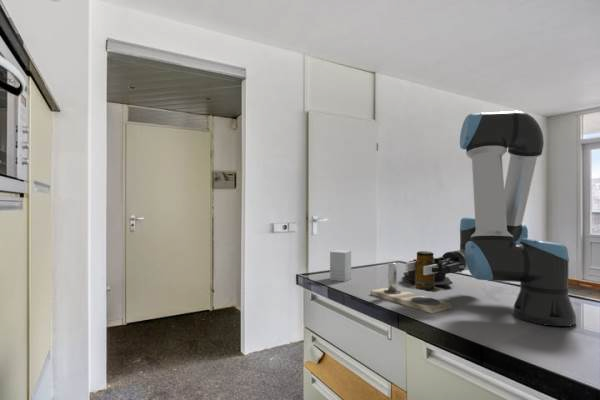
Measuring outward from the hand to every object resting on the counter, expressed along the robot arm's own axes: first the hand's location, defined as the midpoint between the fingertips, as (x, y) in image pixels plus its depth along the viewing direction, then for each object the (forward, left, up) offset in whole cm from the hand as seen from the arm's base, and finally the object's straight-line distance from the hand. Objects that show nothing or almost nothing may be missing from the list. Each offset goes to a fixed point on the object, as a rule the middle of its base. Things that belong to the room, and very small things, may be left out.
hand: (415, 268), depth 111 cm
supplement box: (+45, -7, -13) cm, 47 cm away
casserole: (+21, -35, -13) cm, 42 cm away
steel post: (+14, -5, -13) cm, 19 cm away
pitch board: (+7, -5, -13) cm, 15 cm away
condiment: (-1, -5, -7) cm, 9 cm away
